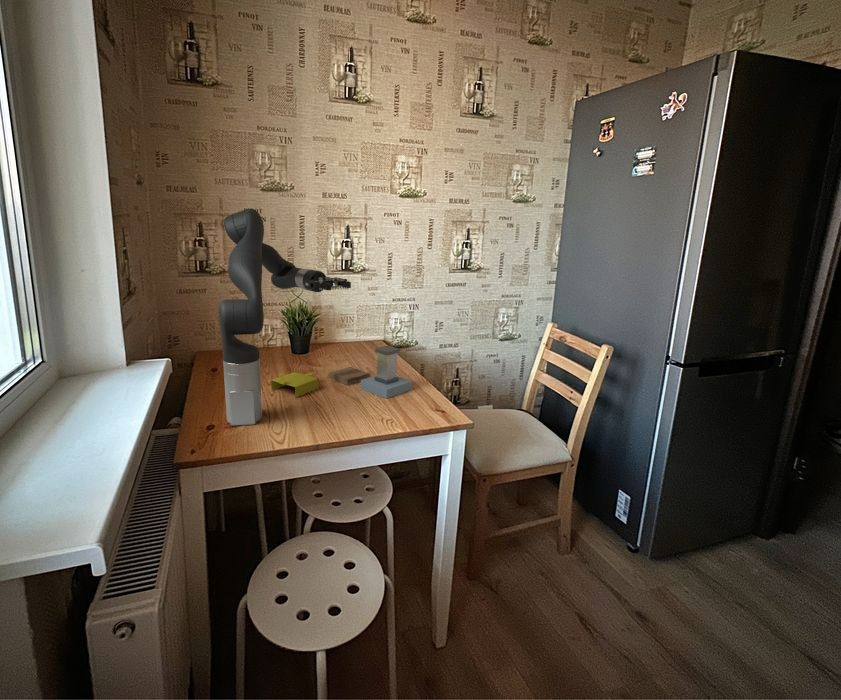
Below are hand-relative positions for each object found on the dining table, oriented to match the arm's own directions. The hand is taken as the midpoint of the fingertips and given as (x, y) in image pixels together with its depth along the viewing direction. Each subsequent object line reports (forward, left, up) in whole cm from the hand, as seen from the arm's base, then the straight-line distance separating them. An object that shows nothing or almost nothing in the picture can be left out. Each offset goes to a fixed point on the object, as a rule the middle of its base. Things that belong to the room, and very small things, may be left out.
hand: (340, 286), depth 164 cm
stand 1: (-2, -3, -32) cm, 32 cm away
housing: (-14, -14, -29) cm, 35 cm away
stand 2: (-14, -14, -32) cm, 38 cm away
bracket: (-10, +14, -33) cm, 37 cm away
